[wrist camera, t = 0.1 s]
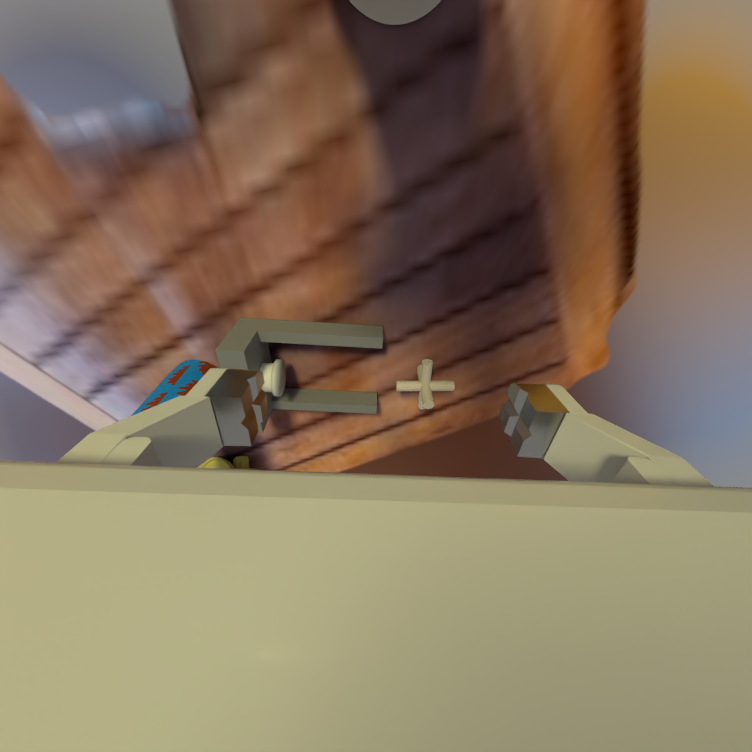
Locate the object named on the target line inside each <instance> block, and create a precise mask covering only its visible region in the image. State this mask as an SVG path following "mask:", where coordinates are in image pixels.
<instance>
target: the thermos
mask: <svg viewBox="0 0 752 752" xmlns="http://www.w3.org/2000/svg"><path fill="white" fill-rule="evenodd" d="M210 368H217V367H216V366H214V365H212V364H210V363H207V362H204V361H199V360H188V361H185V362H183V363H180V364H179V365H178V366H177V367H176V368H175V369H174V370H173V371H172V372H171V373H169V374H168V375H167V376H166V378H165V379H164V380H163V381H162V382H161V383H160V384H159V385H158V387H157V388H156V389H155V390H154V391H153V392H152V393H151V394H150V396H149V397H148V398H147V399H146V400H145V401H144V402H143V403H142V405H141V406H140V407H139V408H138V409H137V410H136V411H135V412H134V414H133V415H135V414H138V413H140V412H142V411H145V410H147V409H149V408H152V407H154V406H157V405H159V404H161V403H164V402H166V401H168V400H171V399H173V398H176V397H178V396H186V395H187V394H188V392H189V391H190V390H191V389H192V388H193V387H194V386H195V385H196V384H197V383H198V381H199V380H200V379H201V378H202V377H203V376H204V375H205V374H206V373H207V371H208V370H209V369H210ZM133 415H132V416H133Z"/></svg>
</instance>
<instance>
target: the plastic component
mask: <svg viewBox="0 0 752 752" xmlns="http://www.w3.org/2000/svg"><path fill="white" fill-rule="evenodd" d="M199 468H220V469H247V470H258V469H255V468H249V457H247V456H239V457H235V459H233V465H232V464H231V462H229V461H227V460H226V459H224V458H221V457H212V458H210V459H208V460H207V461H205V462H204V463H203V464H202V465H201V466H200V467H199Z"/></svg>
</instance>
